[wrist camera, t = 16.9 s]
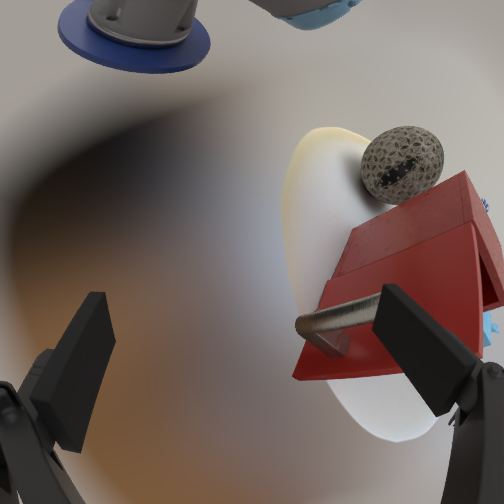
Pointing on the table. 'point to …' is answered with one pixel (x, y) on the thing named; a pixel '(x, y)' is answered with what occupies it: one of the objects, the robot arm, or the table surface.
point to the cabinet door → (367, 298)
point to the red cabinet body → (431, 233)
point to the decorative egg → (402, 164)
